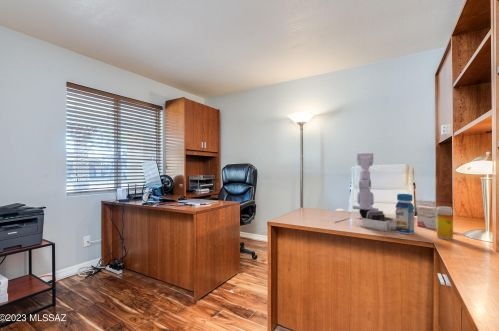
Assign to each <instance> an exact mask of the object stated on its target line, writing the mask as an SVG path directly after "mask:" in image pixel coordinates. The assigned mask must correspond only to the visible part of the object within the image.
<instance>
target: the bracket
mask: <svg viewBox="0 0 499 331" xmlns="http://www.w3.org/2000/svg"><path fill="white" fill-rule="evenodd" d="M361 222H362V224H361V227H362V228H366V229H371V230H372V229H373V230H379V231H383V232H389V231H391V230H394V229H396V217H390V216H385V217H384V221H380V220H374V219H367V218H362V219H361ZM393 228H394V229H393Z"/></svg>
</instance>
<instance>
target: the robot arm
mask: <svg viewBox="0 0 499 331" xmlns="http://www.w3.org/2000/svg"><path fill="white" fill-rule="evenodd" d="M356 161H357V165H358V166H359V167H360V168H361V171H360V172H359V181H358V189H359V191H358V193H357V198H356V200H357V204H358V205H352V210H358V211H359V216H357V218H356V219H360V220H362V218H366V216H367V212H368V211H379V208H378V207H377V208H376V207H373V205H374V200H375V198H374V193H373V192H372V191H371V190H372V181H371V179H372V178H371V172H370V171H369V170H370V167H372V166H373V164H374V152H357V153H356Z"/></svg>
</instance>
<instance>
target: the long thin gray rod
mask: <svg viewBox="0 0 499 331" xmlns="http://www.w3.org/2000/svg"><path fill="white" fill-rule="evenodd" d="M347 220H350V218H349V217H348V218H344V219H341V220H336V221H334V223H335V224H336V223H339V222H342V221H347Z"/></svg>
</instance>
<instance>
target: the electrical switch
mask: <svg viewBox="0 0 499 331" xmlns="http://www.w3.org/2000/svg"><path fill="white" fill-rule="evenodd" d="M384 217H386V215H385V214H384V211H382V210H378V211H368V212H367V216H366V218H367V219H374V220H380V221H384Z"/></svg>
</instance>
